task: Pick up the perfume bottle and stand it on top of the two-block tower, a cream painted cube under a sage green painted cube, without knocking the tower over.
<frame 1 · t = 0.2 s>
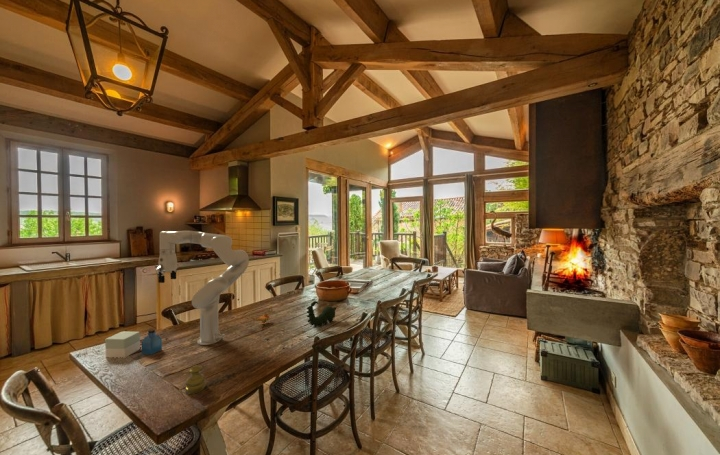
hand: (167, 280, 164), 36 cm above the table, tool pointing down, fingers open, 9 cm apart
toy figurine: (322, 324, 194), on the table
perfume bottle: (151, 351, 152), on the table
bottom block: (123, 353, 150), on the table, touching top block
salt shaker: (195, 389, 119), on the table
top block: (123, 344, 150), point 5 cm above the table, touching bottom block
magic lamp: (262, 324, 193), on the table
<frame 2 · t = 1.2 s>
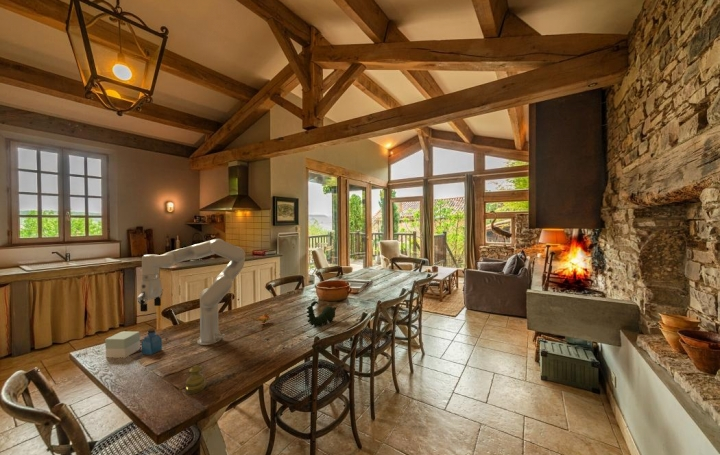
hand: (150, 308, 151), 24 cm above the table, tool pointing down, fingers open, 9 cm apart
nothing on the table moved.
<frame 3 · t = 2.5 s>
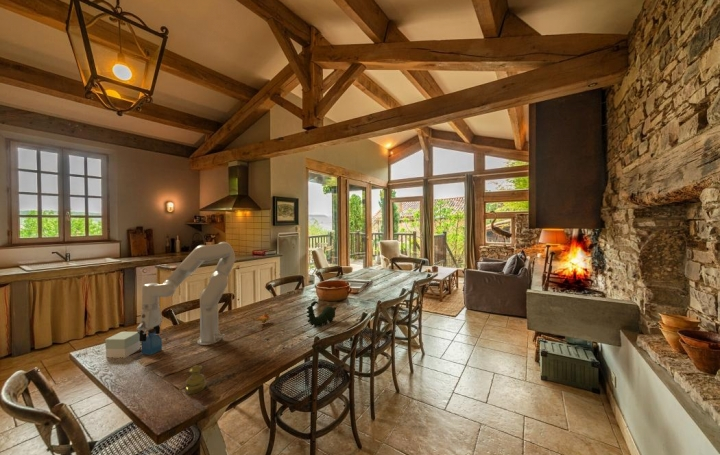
hand: (149, 337, 152), 8 cm above the table, tool pointing down, fingers open, 9 cm apart
nothing on the table moved.
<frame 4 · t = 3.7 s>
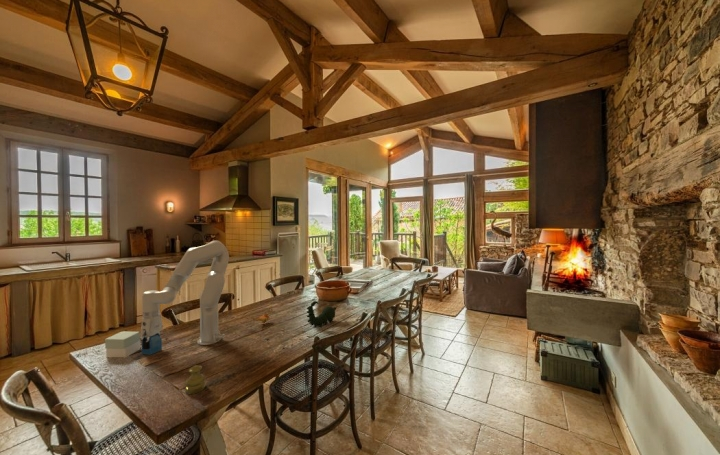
hand: (151, 345, 152), 3 cm above the table, tool pointing down, fingers closed on perfume bottle, 7 cm apart
perfume bottle: (151, 351, 152), on the table, touching gripper
everything else where it was.
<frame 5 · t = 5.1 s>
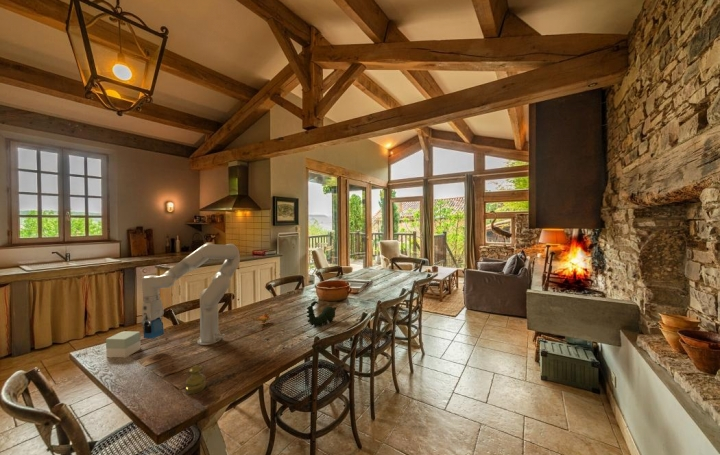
hand: (153, 329, 152), 12 cm above the table, tool pointing down, fingers closed on perfume bottle, 7 cm apart
perfume bottle: (154, 336, 152), point 8 cm above the table, touching gripper
bottom block: (124, 353, 150), on the table
top block: (123, 344, 150), point 5 cm above the table
everything else where it was.
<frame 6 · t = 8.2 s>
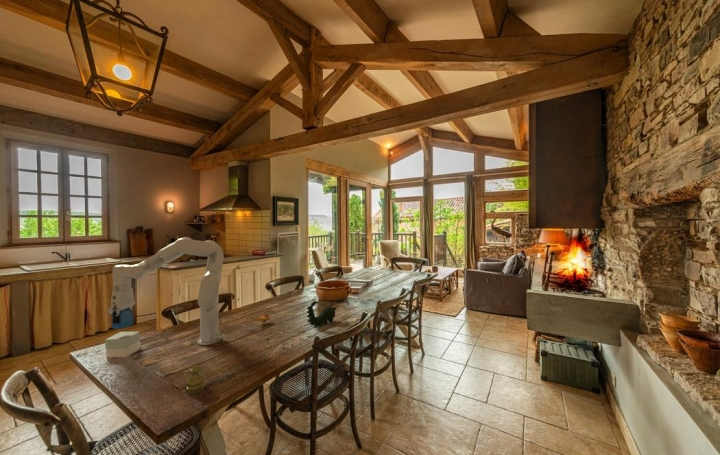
hand: (122, 320, 150), 18 cm above the table, tool pointing down, fingers closed on perfume bottle, 7 cm apart
perfume bottle: (122, 326, 150), point 14 cm above the table, touching gripper
everything else where it was.
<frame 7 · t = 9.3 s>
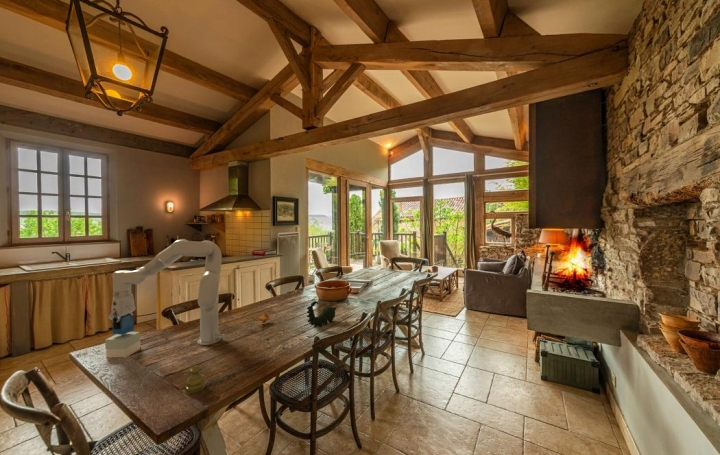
hand: (123, 325, 150), 15 cm above the table, tool pointing down, fingers closed on perfume bottle, 7 cm apart
perfume bottle: (123, 332, 150), point 11 cm above the table, touching gripper
bottom block: (123, 353, 150), on the table, touching top block
top block: (123, 344, 150), point 5 cm above the table, touching bottom block
everything else where it was.
when the fingers open (15 cm above the table, at t = 9.3 s): perfume bottle drops 2 cm, resting on top block.
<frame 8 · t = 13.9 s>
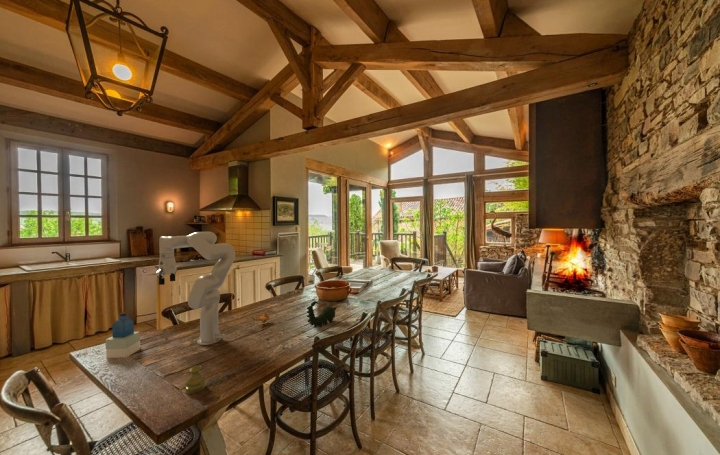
hand: (167, 282, 175), 32 cm above the table, tool pointing down, fingers open, 9 cm apart
perfume bottle: (123, 335, 150), point 9 cm above the table, touching top block
top block: (123, 344, 150), point 5 cm above the table, touching bottom block, perfume bottle
everything else where it was.
at the end: perfume bottle 0.4 cm off-centre on the top block, point 4.8 cm above the top block's base; perfume bottle tilted 0°; top block point 4.7 cm above the table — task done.
